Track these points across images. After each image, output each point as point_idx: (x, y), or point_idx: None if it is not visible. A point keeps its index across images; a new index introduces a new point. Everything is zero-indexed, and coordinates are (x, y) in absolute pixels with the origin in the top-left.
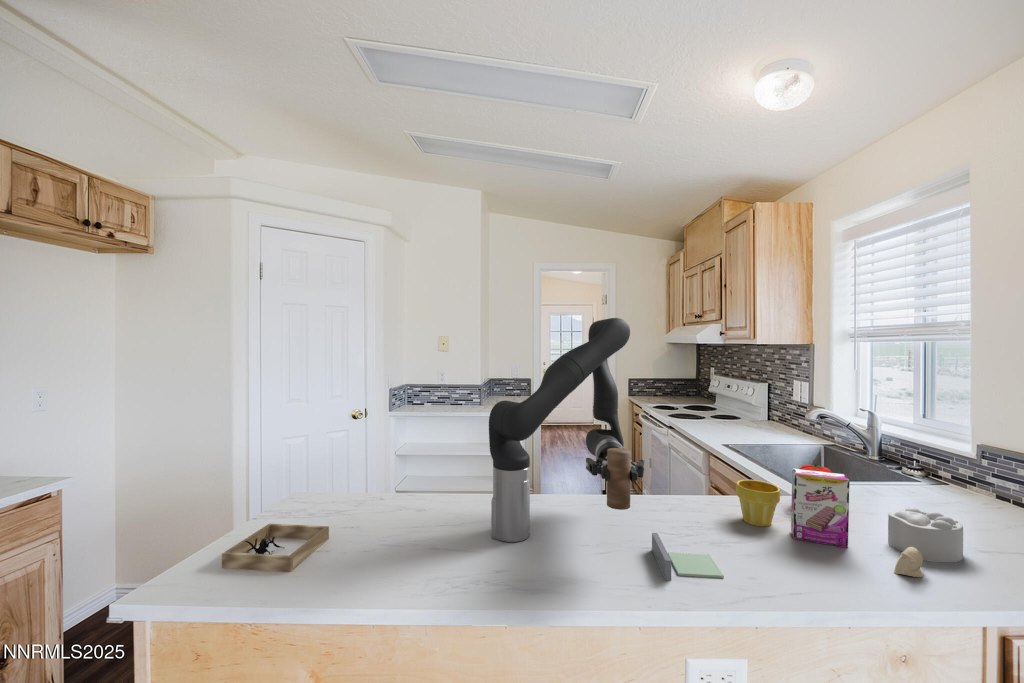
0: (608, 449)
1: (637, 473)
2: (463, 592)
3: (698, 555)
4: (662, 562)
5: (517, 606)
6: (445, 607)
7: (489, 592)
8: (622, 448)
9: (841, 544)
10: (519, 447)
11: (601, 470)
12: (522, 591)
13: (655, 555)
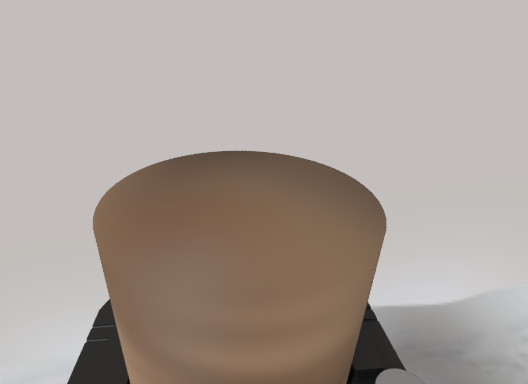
0: (375, 216)
1: (107, 302)
2: (515, 327)
3: None
4: None
5: (408, 309)
6: (497, 292)
7: (478, 335)
8: (166, 282)
9: None
10: None
11: (374, 315)
12: (429, 348)
13: None
